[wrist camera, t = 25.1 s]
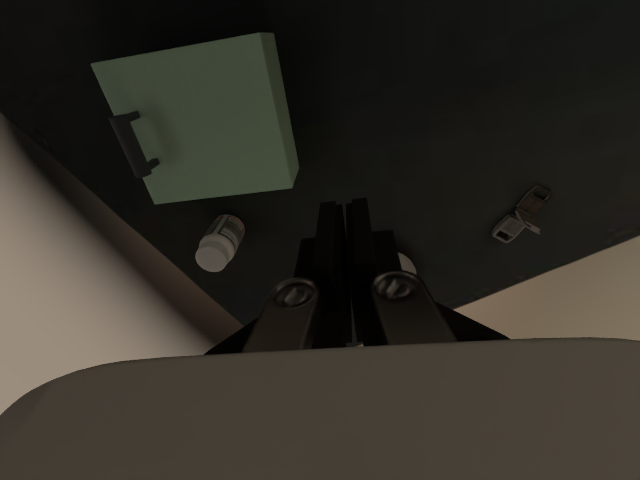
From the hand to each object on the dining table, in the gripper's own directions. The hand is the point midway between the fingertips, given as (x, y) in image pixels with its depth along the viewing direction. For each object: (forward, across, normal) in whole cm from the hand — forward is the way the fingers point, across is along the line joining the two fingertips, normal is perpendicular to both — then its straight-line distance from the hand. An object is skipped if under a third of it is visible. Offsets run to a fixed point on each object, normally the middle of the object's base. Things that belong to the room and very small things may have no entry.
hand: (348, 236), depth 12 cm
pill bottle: (+31, +19, +15) cm, 40 cm away
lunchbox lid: (+25, +15, 0) cm, 29 cm away
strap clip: (+31, -22, +18) cm, 42 cm away
